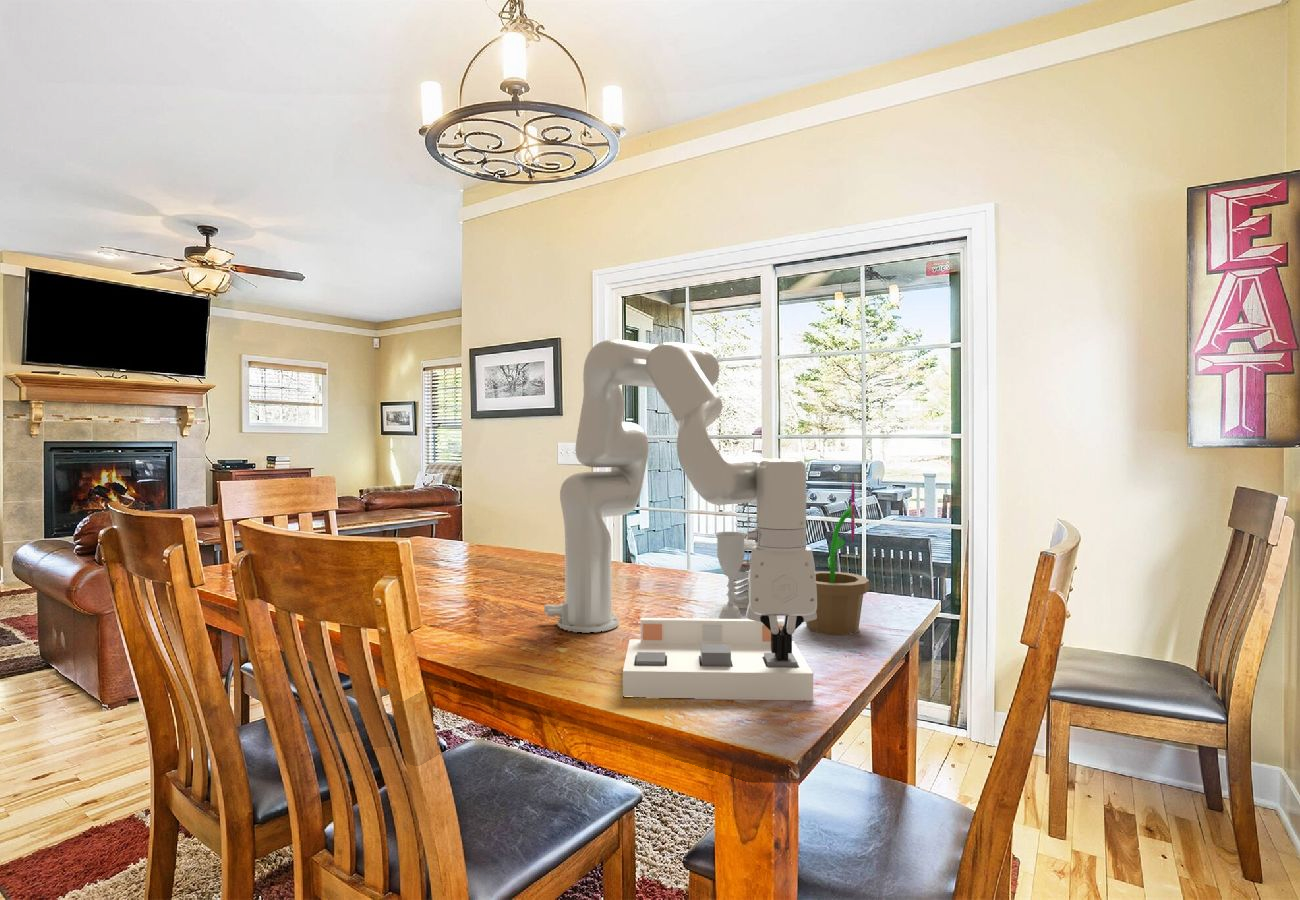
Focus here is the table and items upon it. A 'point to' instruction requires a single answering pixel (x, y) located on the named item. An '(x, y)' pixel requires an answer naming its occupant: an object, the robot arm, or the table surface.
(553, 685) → the table surface
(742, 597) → the french press
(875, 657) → the table surface
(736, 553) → the chalice
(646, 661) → the button left
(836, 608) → the flowerpot
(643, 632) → the button board
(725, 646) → the button middle
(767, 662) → the button right
